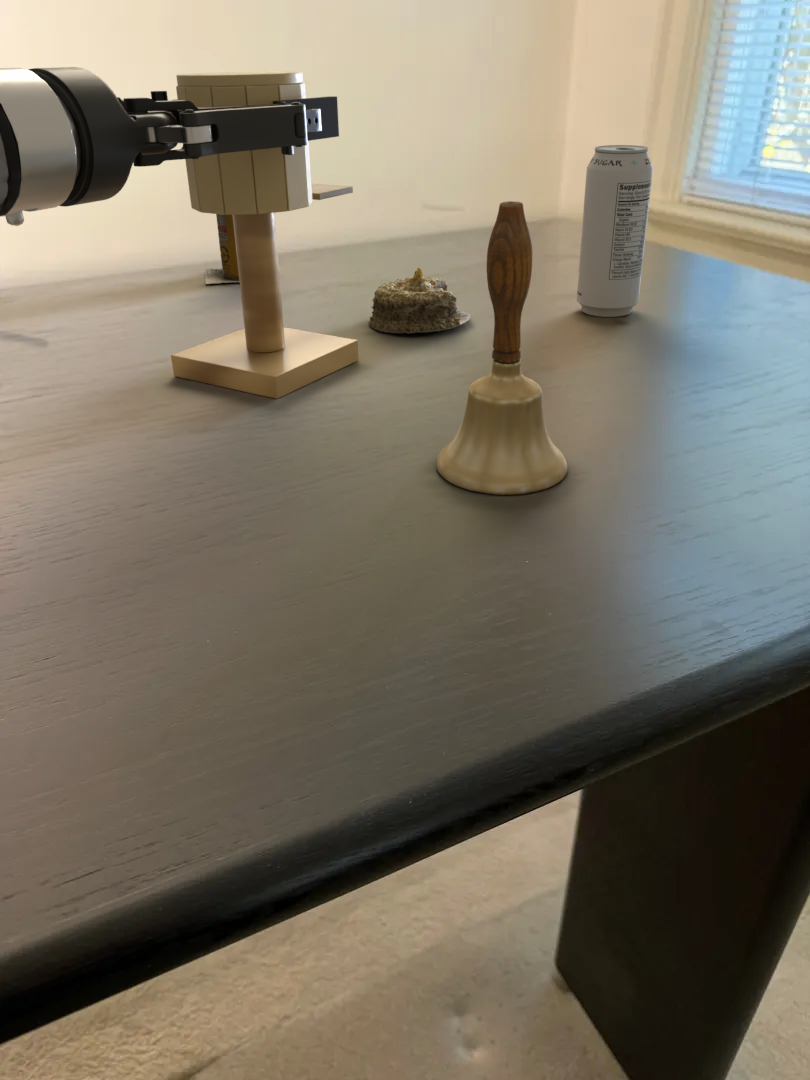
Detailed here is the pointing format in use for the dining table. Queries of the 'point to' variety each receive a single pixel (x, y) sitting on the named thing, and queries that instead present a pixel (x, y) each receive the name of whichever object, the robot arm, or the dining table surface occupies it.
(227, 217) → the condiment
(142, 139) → the robot arm
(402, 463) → the dining table surface
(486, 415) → the hand bell
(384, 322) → the cake
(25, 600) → the dining table surface
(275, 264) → the hat stand
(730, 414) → the dining table surface
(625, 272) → the energy drink can
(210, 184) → the slatted wooden barrel
